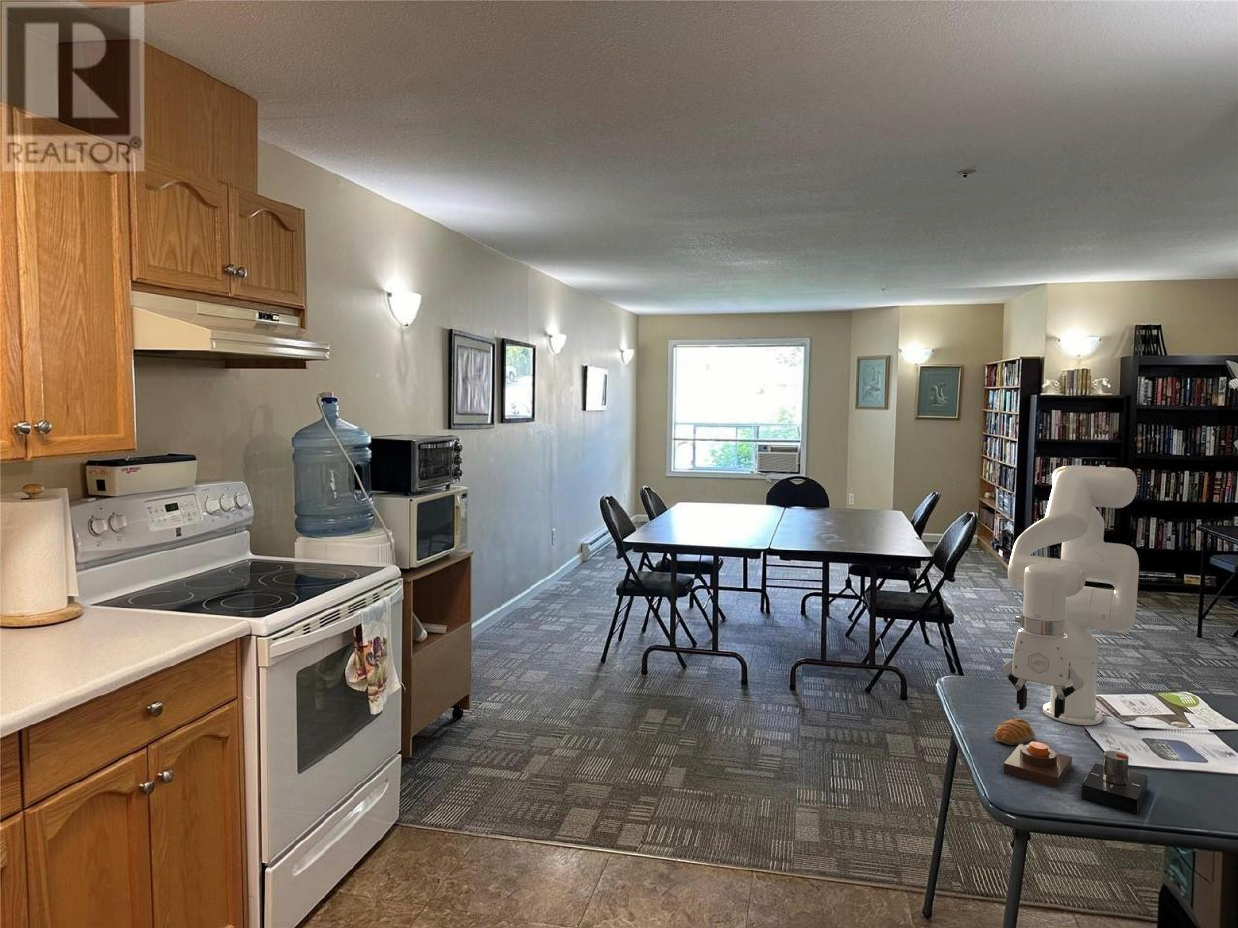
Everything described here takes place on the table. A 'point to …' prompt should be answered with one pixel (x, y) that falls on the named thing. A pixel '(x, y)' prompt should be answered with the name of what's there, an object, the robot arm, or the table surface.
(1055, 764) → the block
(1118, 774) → the dial
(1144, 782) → the dial panel
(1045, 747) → the button
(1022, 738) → the pastry
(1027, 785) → the table surface
